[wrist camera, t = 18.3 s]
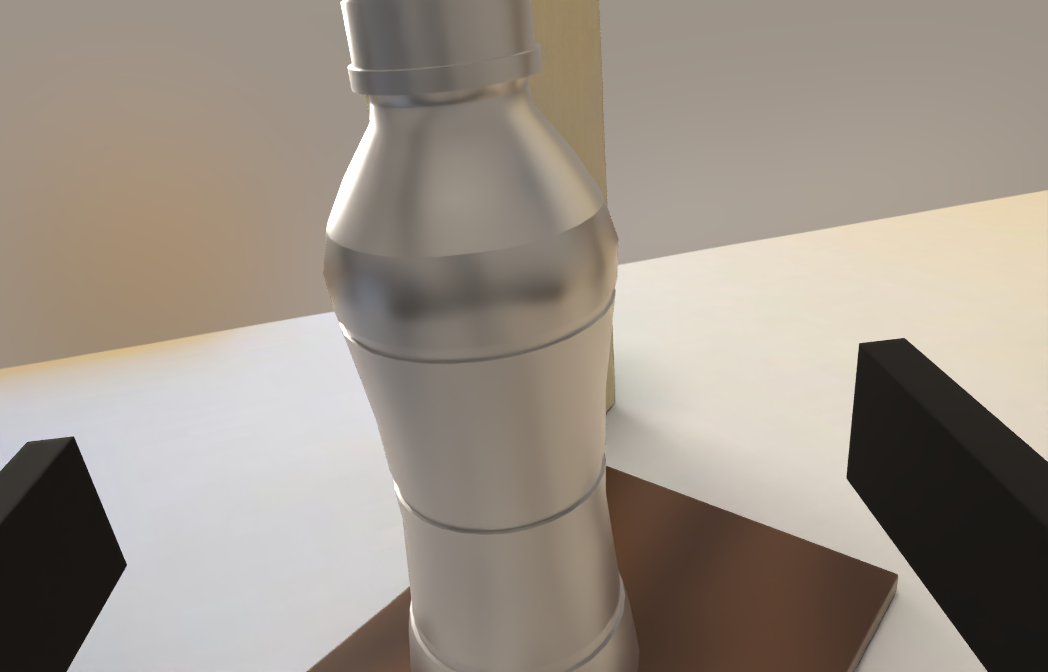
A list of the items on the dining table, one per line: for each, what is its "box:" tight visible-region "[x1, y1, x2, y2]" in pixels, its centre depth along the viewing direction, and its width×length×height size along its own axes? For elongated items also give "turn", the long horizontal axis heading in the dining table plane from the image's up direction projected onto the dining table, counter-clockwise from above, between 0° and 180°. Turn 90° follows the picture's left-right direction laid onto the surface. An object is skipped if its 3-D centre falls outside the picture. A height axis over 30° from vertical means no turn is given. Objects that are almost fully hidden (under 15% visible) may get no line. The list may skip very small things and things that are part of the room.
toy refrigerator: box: [366, 0, 615, 412], centre depth 36 cm, size 8×7×21 cm
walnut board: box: [306, 466, 898, 672], centre depth 26 cm, size 14×17×1 cm
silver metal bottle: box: [323, 0, 639, 672], centre depth 19 cm, size 6×7×20 cm
